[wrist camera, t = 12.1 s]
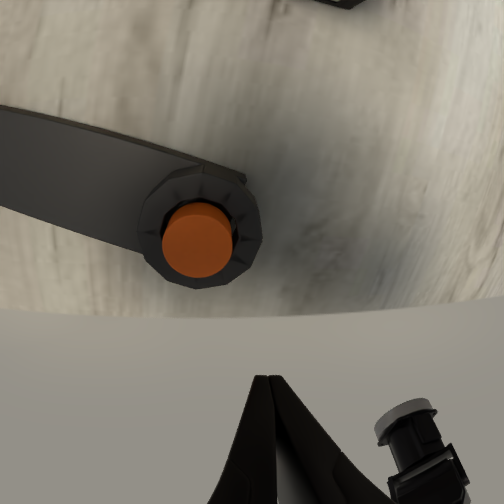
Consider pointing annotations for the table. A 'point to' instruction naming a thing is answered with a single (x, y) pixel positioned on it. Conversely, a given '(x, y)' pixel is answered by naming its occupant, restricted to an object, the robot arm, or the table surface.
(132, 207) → the block
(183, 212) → the button
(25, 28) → the table surface
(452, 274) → the table surface
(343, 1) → the camera
